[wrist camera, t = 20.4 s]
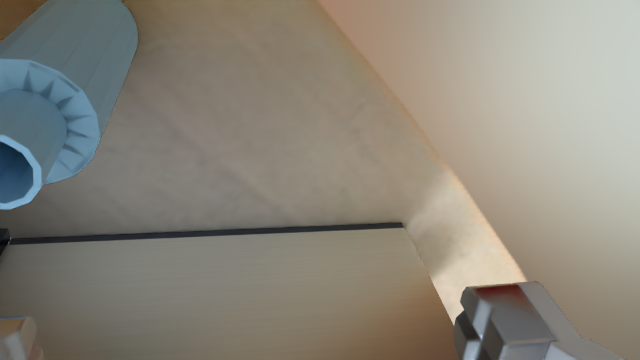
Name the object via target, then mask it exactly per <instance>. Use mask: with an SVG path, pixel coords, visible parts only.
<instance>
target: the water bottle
mask: <svg viewBox="0 0 640 360" xmlns="http://www.w3.org/2000/svg"><path fill="white" fill-rule="evenodd" d="M137 47H138V30H137V26H136V22H135V20H134V18H133V16H132V14H131V12H130V11H129V9H128V8H127V7H126V6H125V5H124V3H123V2H122V1H121V0H47V1H46V2H45V3H44V4H42V5H41V6H40V7H39V8H38V9H37V10H36V11H35V12H33V13H32V14H31V15H30V16H29V17H28V18H27V19H26V20H24V21H23V22H22V23H21V24H20V25H19V26H18V27H17V28H15V29H14V30H13V31H12V32H11V33H10V34H9V35H8V36H6V37H5V38H4V39H3V40H2V41H1V42H0V209H4V210H10V209H13V208H16V207H18V206H21V205H24V204H27V203H29V202H31V201H32V199H33V198H34V197H35V196H36V194H37V193H38V192H39V190H40V189H41V188H42V186H43V184H52V183H55V182H58V181H61V180H63V179H66V178H69V177H72V176H75V175H76V174H77V173H78V172H79V171H80V170H82V169H83V168H84V167H85V166H86V165H87V164H88V163H89V162H90V161H91V160H92V159H93V157H94V154H95V152H96V149H97V147H98V144H99V142H100V139H101V137H102V134H103V132H104V129H105V127H106V124H107V122H108V119H109V117H110V115H111V112H112V110H113V107H114V105H115V102H116V100H117V97H118V95H119V92H120V90H121V87H122V85H123V82H124V80H125V77H126V75H127V73H128V70H129V68H130V65H131V63H132V60H133V57H134V55H135V52H136V49H137Z"/></svg>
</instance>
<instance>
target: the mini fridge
mask: <svg viewBox="0 0 640 360" xmlns="http://www.w3.org/2000/svg"><path fill="white" fill-rule="evenodd" d="M9 241H10V242H9ZM8 243H9V244H8ZM10 316H30V317H33V318H34V321H35V324H36V327H37V330H38V332H37V335H36V338H35V341H34V343H35V344H37V345H38V346H39V347H41V348H42V349H43V351H44V355H45V359H46V360H460V359H459V357H458V355H457V352H456V348H455V345H454V332H453V330H454V325H453V323H452V321H451V319H450V317H449V315H448V313H447V311H446V309H445V307H444V305H443V303H442V301H441V299H440V297H439V295H438V293H437V291H436V289H435V287H434V285H433V283H432V281H431V279H430V277H429V275H428V273H427V271H426V268H425V266H424V264H423V262H422V260H421V258H420V256H419V254H418V252H417V250H416V248H415V246H414V244H413V242H412V240H411V238H410V236H409V234H408V232H407V230H406V228H404V227H403V225H402V223H389V224H366V225H342V226H318V227H294V228H270V229H246V230H223V231H199V232H175V233H151V234H127V235H103V236H79V237H56V238H32V239H11V240H10V236H9V232H8V229H0V317H10Z"/></svg>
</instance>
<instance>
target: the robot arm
mask: <svg viewBox="0 0 640 360" xmlns="http://www.w3.org/2000/svg"><path fill="white" fill-rule="evenodd" d="M460 302H461V304H462V306H463V308H464V311H463V312H462V313H461V314H460V315H458V316H457V317H456V320H455V325H454V330H453V332H454V345H455V348H456V352H457V355H458V357H459V359H460V360H626V359H625V358H623V357H621V356H619V355H618V354H616V353H614V352H612V351H611V350H609V349H607V348H605V347H604V346H602V345H600V344H599V343H597V342H595V341H593V340H592V339H583V338H582V337H581V335H580V334H579V333H578V331H577V330H576V329H575V327H574V326H573V325H572V323H571V322H570V321H569V319H568V318H567V317H566V315H565V314H564V313H563V311H562V310H561V309H560V307H559V306H558V305H557V304H556V302H555V301H554V299H553V298H552V297H551V296H550V294H549V293H548V291H547V290H546V289H545V288H544V286H543V285H542V284H540V283H539V282H537V281H534V282H520V283H513V284H497V285H483V286H470V287H466V288H465V290H464V291H463V293H462V296H461V300H460ZM37 332H38V330H37V327H36V324H35V321H34V318H33V317H30V316H10V317H0V360H46V359H45V355H44V351H43V349H42V348H41V347H39V346H38V345H37V344H35V343H34V341H35V338H36V335H37Z"/></svg>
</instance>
